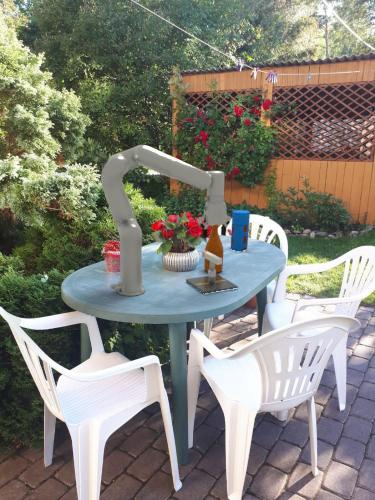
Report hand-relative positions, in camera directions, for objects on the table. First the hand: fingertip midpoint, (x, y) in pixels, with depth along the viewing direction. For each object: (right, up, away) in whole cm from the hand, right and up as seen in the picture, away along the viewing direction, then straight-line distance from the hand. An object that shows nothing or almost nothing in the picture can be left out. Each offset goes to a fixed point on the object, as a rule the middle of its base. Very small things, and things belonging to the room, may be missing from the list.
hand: (214, 236), depth 172 cm
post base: (-1, -23, +6) cm, 24 cm away
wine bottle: (+1, -18, +28) cm, 33 cm away
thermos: (+21, -6, +71) cm, 74 cm away
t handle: (-1, -15, +5) cm, 16 cm away
